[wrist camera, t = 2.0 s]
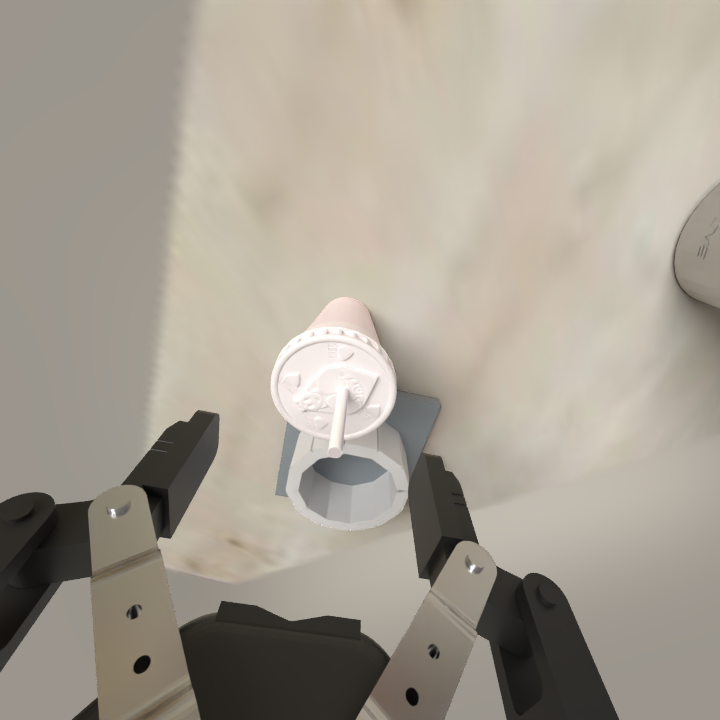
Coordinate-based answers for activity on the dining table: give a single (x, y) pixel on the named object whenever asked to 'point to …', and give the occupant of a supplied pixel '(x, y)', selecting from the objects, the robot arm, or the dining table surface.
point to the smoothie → (335, 377)
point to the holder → (357, 468)
